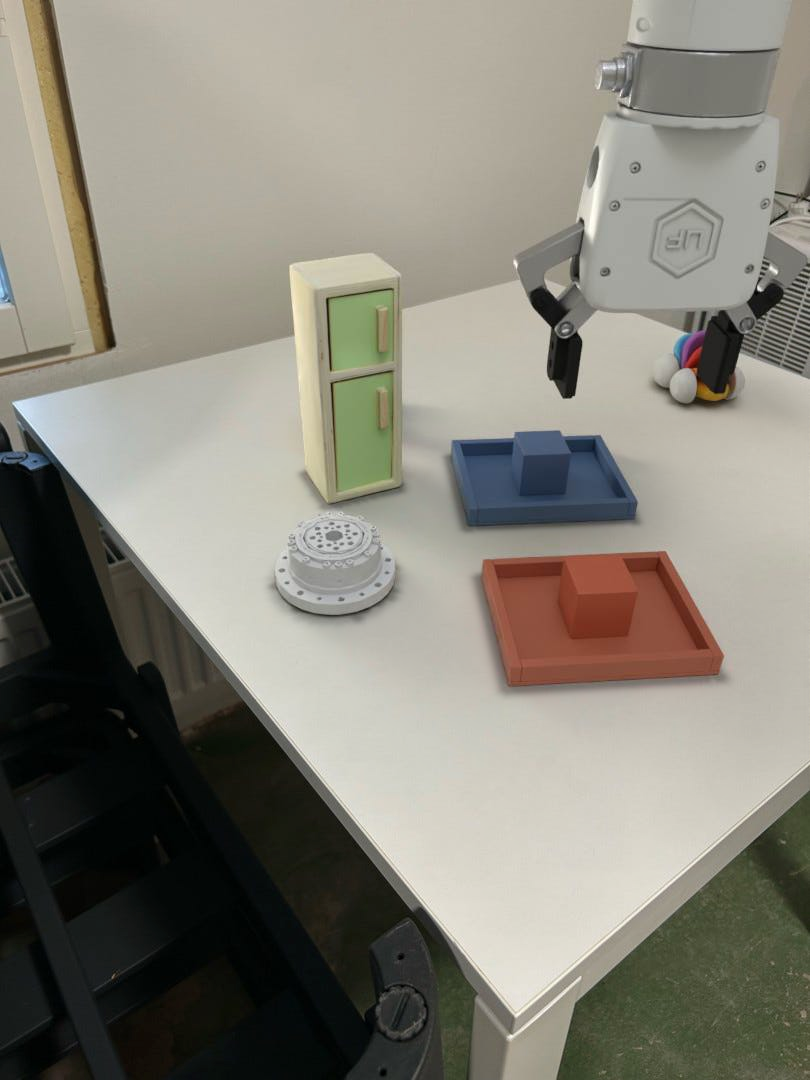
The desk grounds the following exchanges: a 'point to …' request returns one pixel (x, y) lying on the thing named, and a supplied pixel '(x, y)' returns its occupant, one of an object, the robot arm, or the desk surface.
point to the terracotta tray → (553, 657)
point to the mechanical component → (335, 565)
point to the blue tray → (497, 501)
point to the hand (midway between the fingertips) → (636, 386)
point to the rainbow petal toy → (691, 372)
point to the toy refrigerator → (349, 372)
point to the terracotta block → (596, 596)
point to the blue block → (540, 462)
